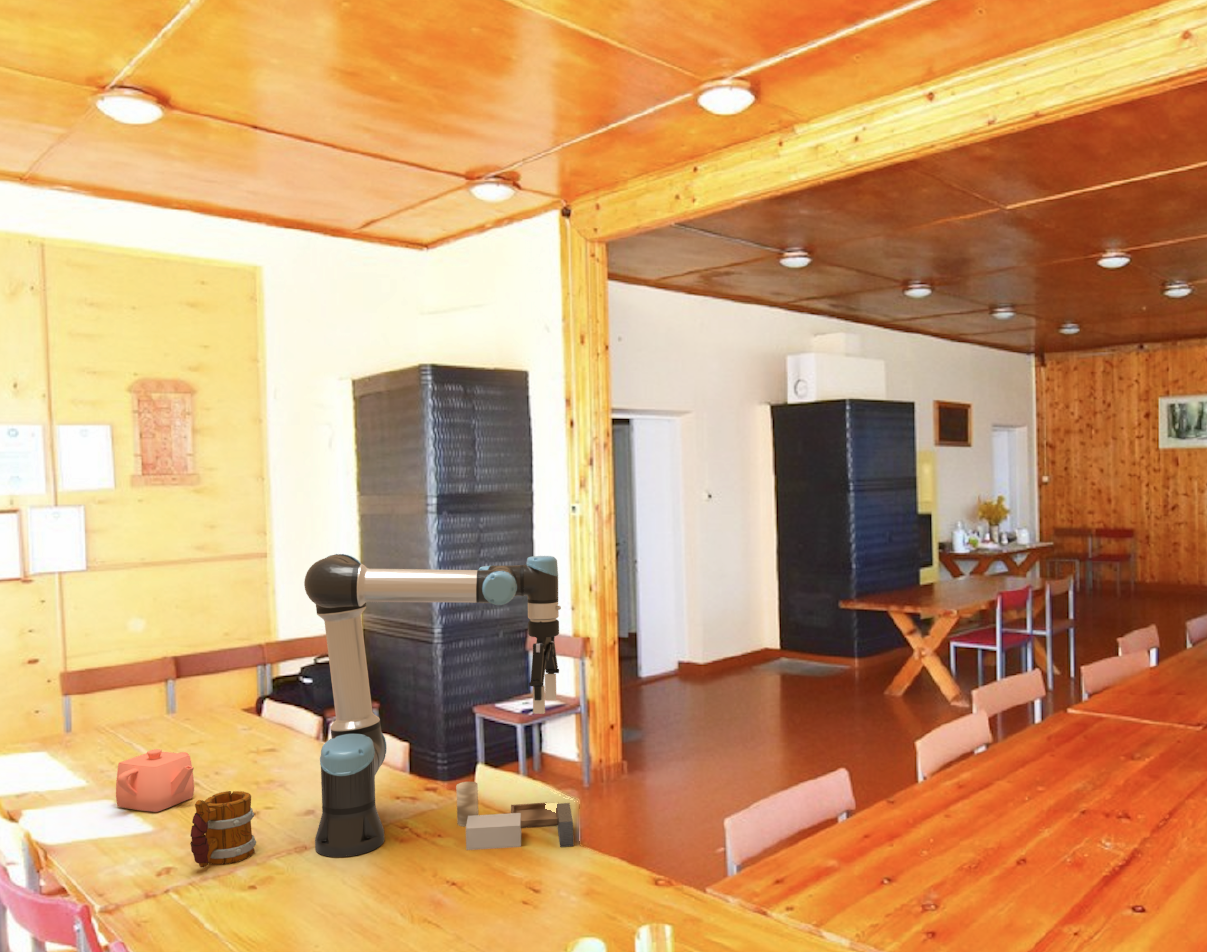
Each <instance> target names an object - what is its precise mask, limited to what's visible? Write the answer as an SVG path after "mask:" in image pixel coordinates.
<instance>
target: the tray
mask: <svg viewBox="0 0 1207 952" xmlns="http://www.w3.org/2000/svg"><path fill="white" fill-rule="evenodd" d="M545 803H546V802H537V803H535V802H534V803H521V804H520V803H519V804H518V803H517V804H516V803H515V804H510V813H521V829H526V827H527V828H537V827H539V828H541V827H555V826H557V808H556V813H555V812H552V811H551V810H547V809H545V805H546V804H545Z"/></svg>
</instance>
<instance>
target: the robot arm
mask: <svg viewBox="0 0 1207 952" xmlns="http://www.w3.org/2000/svg"><path fill="white" fill-rule="evenodd" d="M525 563H526V564H521V565H518V564H517V565H494V564H493V565H484V566H481V567H479V568H478V569H477V570H476V569H428V568H427V569H425V568H424V569H422V568H421V569H419V568H418V569H416V568H404V569H403V568H368V567H367V566H366V565H365V564H363V563H361V562H360V561H359V560H358V559H357V558H356V557H354V556H352V555H349V554H344V553H340V554H339V553H334V554H331V555H328V556H326V557H325V558H321V559H319V560H317V561H316V562H314V563H313V564H312V565H310V567H309V569H308V570H307V571H306V573H305V576H304V577H305V578H304V582H303V583H304V590H305V593H306V595H307V598H309V600H311V602H313V603H314V604H315V608H316V609H315V610H316V615H317V616H318V617H319V618H321V619H322V620H323V621H324V628H325V629H324V630H325V637H326V638H325V639H326V645H327V655H328V661H329V670H330V679H331V687H332V697H333V705H334V714H335V720H334V721H333V723H332V724H331V725H330V734H331V738H330V739H328V740H327V741H326V742H324V744H323V745H322V746H321V750H320V756H319V765H320V779H321V782H320V784H321V806H322V807H321V809H322V810H321V812H322V813H321V816H320V820H319V822H318V823H319V824H318V827H317V831H316V834H315V837H314V846H315V847H314V850H315V852H316V853H317V854H318V855H322V856H324V857H332V858H333V857H334V858H346V857H347V858H348V857H352V856H359V855H363V854H366V853H369V852H373V851H374V850H376V849H379V847H381V846H382V845H383V844H384V842H385V828H384V826H383V823H382V821H381V818H380V816H379V812H378V810H377V807H376V780H375V779H376V774H377V773H378V771H379V769H380V768H381V767H382V765H383V764H384V761H385V759H386V754H387V741H386V737H385V735H384V733H383V732H382V726H381V719H380V716H378V715H376V714H375V713H374V712H373V707H372V706H373V704H372V696H371V688H370V680H369V671H368V664H367V655H366V646H365V638H364V631H363V630H364V629H363V623H362V622H363V621H362V614H363V612H364V611H365V610H366V609H367V603H469V604H470V603H475V604H476V603H477V604H491V605H495V606H503V605H506V604H509V603H510V602H511V601H512V600H513V599H514V598H515V597H525V596H526V597H527V618H528V619H529V621H528V622H527V625H528V626H527V630H528V631H527V633H528V636H530V637H531V638H536V643H533V644H532V660H531V672H530V682H529V683H528V686H529V687H532V714H536V715H537V714H540V715H544V714H546V701H557V674H559V673H560V668H558V667H559V666H558V660H557V652H556V651H557V650H556V644H555V643H556V642H555V637H556V636H558V635H559V634H560V621H559V619H558V618H559V616H560V615H559V611H560V610H561V605H559V570H558V569H559V568H558V560H557V558H556V557H555V556H552V555H533V556H532V555H531V556H529V557H527V558H526V562H525Z"/></svg>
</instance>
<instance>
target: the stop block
mask: <svg viewBox="0 0 1207 952" xmlns="http://www.w3.org/2000/svg"><path fill="white" fill-rule="evenodd" d="M557 834H558V842H559V848H566V847H574V846H575V845H574V821H573V814H572V808H571V803H570V802H563V803H558V804H557Z"/></svg>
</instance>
